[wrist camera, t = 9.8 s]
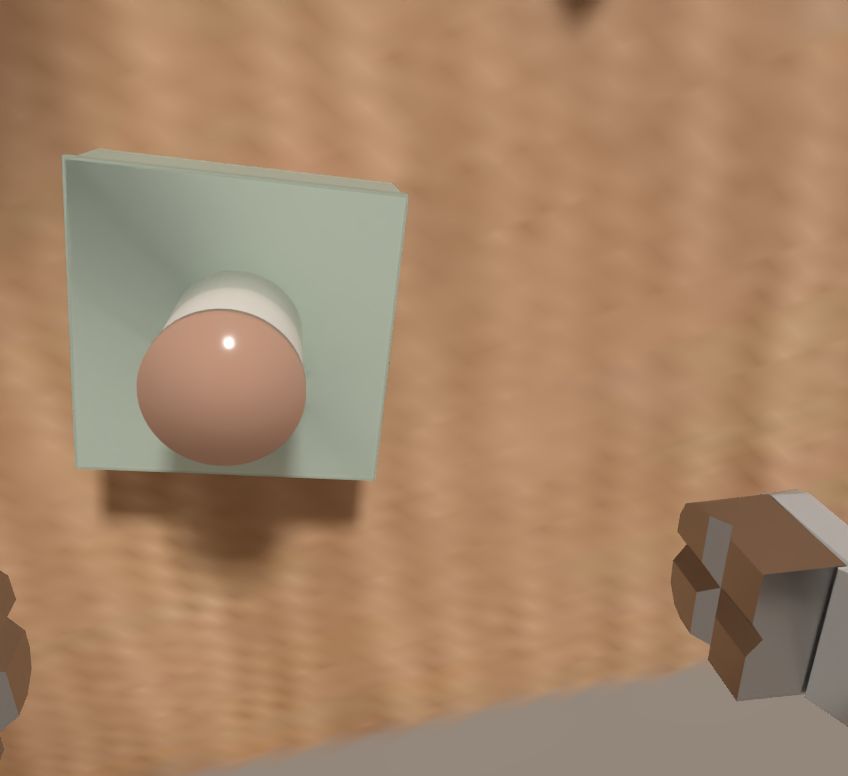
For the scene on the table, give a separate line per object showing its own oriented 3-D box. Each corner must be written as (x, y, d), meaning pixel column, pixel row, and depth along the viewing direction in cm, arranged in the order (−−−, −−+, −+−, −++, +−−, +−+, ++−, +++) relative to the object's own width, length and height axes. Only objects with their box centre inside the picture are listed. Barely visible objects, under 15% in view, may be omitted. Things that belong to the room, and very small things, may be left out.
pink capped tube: (160, 269, 28) (125, 316, 22) (302, 267, 28) (302, 312, 23) (175, 398, 30) (147, 470, 24) (307, 392, 30) (308, 461, 25)
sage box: (98, 144, 30) (61, 155, 26) (393, 179, 33) (408, 195, 28) (105, 417, 35) (75, 468, 30) (365, 431, 37) (374, 480, 32)
